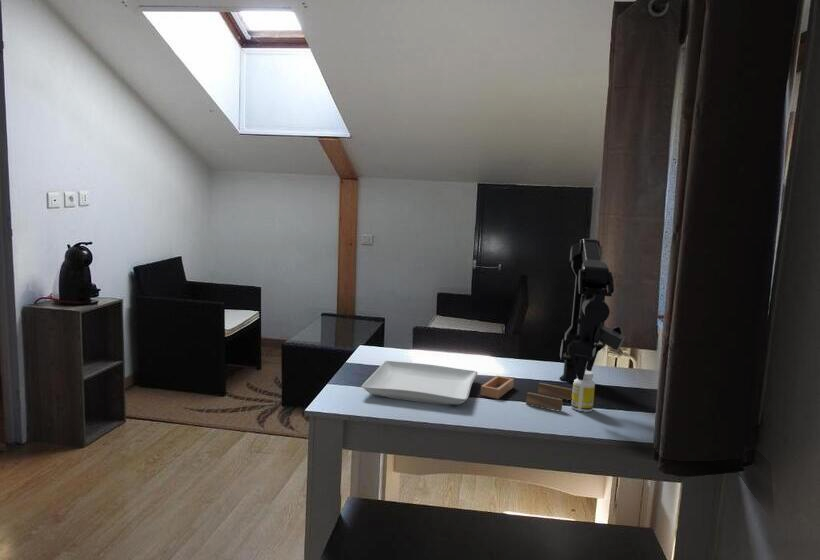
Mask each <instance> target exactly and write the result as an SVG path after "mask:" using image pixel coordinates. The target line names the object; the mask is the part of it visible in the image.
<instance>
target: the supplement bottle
mask: <svg viewBox="0 0 820 560" xmlns="http://www.w3.org/2000/svg"><path fill="white" fill-rule="evenodd" d="M593 378H594V372H593V371H592V370H591V371H587V370H586V371H585V375H584V378H583V380H579V379H578V378H577V379H575V380H574V382H572V389H573V391H572V400H571V401H570V402H571V405H570V407H571V409H572V408H573V409H572V410H574V409H575V410H574V411H576V410H578V411H577V412H580V411H584V412H583V413H589V412H588V411H590V412H592V411H593V408H594V399H595V389H596V383H595V381H593Z"/></svg>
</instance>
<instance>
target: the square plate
mask: <svg viewBox="0 0 820 560" xmlns="http://www.w3.org/2000/svg"><path fill="white" fill-rule="evenodd" d="M477 375H478V371H476V370H469V369H463V368H456V367H448V366H443V365H435V364H427V363H417V362H407V361H397V360H395V361H393V360H385V361H384V362H382V364H381V365H380V366H379V367H378V368H377V369H376V370H375V371H374V372H373V373H372V374H371V375H370V376H369V377H368V378H367V379H366V381H364V383H363V384H362V385H361V386H360V387H361V388H362V389H364V390H365V392H366V393H369V394H371V395H374V396H383V397H384V396H385V397H384V398H388V399H395V400H403V401H405V400H406V401H411V402H412V401H413V402H419V403H420V402H421V403H426V404H428V403H429V404H435V405H436V404H437V405H456V406H457V405H461V404H463V403H465V402H466V401H467V400H468V398H469V396H470V393H471V388H472V385H473V383H474V381H475V379H476V378H477Z"/></svg>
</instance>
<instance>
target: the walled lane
mask: <svg viewBox="0 0 820 560" xmlns="http://www.w3.org/2000/svg"><path fill="white" fill-rule="evenodd" d="M572 391H573V388H570V387H566V386H565V387H563V386H558V385H554V384H548V383H544V382H539V383H538V386H537V393H533V392H530V391H527V393H526V398H525V399H526V400H525V405H526V404H528V405H527V406H531V405H533V406H532V407H536V406H538V407H537V408H540V407H543V408H542V409H545V408H549V409H548V410H550V409H554V410H559V411H561V410H562V409H563V401H564V400H563V399H567V400H566V401H568V400H571V399H572ZM540 394H541V395H540ZM545 395H546V396H545ZM550 396H553V397H550ZM555 397H558V398H555ZM560 398H563V399H560ZM571 401H572V400H571ZM554 410H553V411H554ZM559 411H558V412H559ZM562 411H563V410H562ZM562 411H561V412H562Z"/></svg>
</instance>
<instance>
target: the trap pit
mask: <svg viewBox="0 0 820 560" xmlns="http://www.w3.org/2000/svg"><path fill="white" fill-rule="evenodd" d="M514 382H515V378H512V377H506V376H503V375H502V376H501V375H496V376H494V377H492V378H491V379H489V380H488V381H487V382H485V383H484V384H482V385H480V396H483V397H487V398H492V399H497V400H499V399H500V398H501V397H503V396H504V395H506V394H507V393H508V392H509V391H511V390H512V389H513V388H514Z"/></svg>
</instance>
